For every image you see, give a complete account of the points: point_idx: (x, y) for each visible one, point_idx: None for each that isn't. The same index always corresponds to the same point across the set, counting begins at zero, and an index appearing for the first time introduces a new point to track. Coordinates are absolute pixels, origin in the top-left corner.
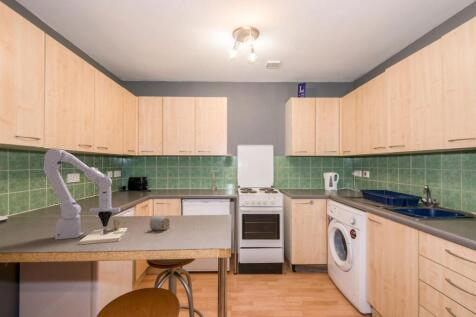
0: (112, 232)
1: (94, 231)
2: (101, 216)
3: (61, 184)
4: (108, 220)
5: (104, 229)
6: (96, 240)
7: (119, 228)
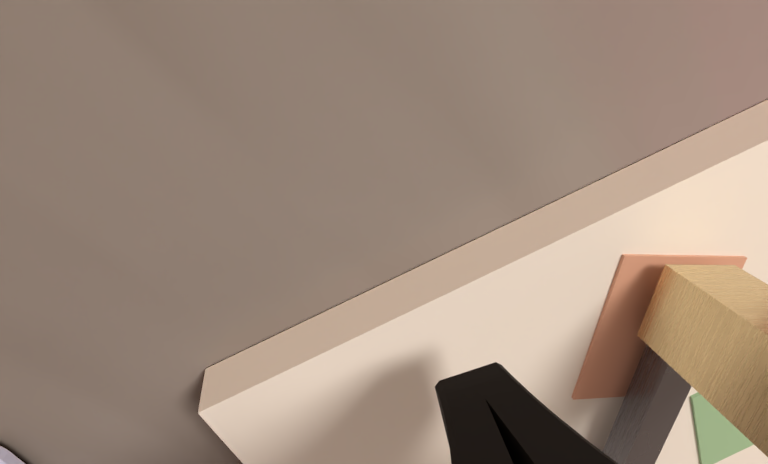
0: None
1: (297, 460)
2: None
3: None
4: (599, 462)
5: None
6: None
7: (735, 273)
